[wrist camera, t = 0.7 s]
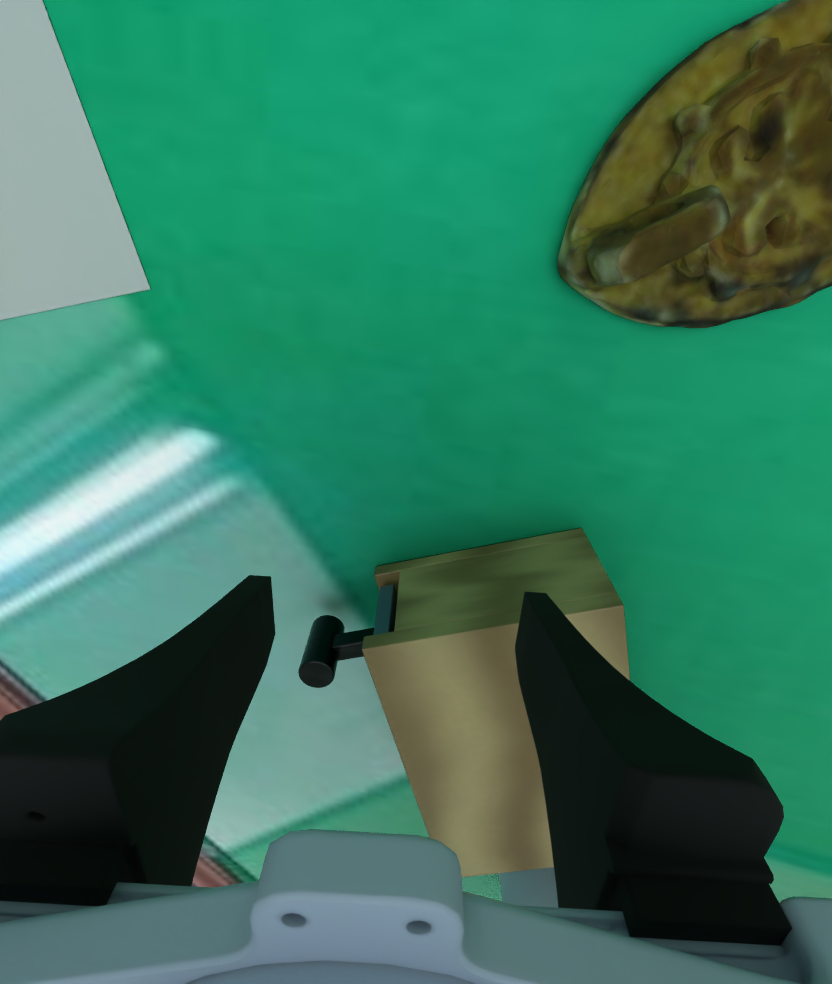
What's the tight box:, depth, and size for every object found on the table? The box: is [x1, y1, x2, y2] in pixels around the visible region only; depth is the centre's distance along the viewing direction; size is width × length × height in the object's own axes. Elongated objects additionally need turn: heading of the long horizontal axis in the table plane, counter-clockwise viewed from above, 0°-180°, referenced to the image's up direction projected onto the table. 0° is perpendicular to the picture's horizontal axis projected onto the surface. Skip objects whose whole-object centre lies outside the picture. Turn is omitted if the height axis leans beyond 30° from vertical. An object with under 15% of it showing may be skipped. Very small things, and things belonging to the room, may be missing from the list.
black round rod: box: [299, 585, 397, 688], centre depth 26 cm, size 4×8×4 cm, turn 13°
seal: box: [558, 0, 832, 328], centre depth 17 cm, size 9×5×15 cm
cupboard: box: [362, 528, 630, 877], centre depth 26 cm, size 10×16×6 cm, turn 13°
